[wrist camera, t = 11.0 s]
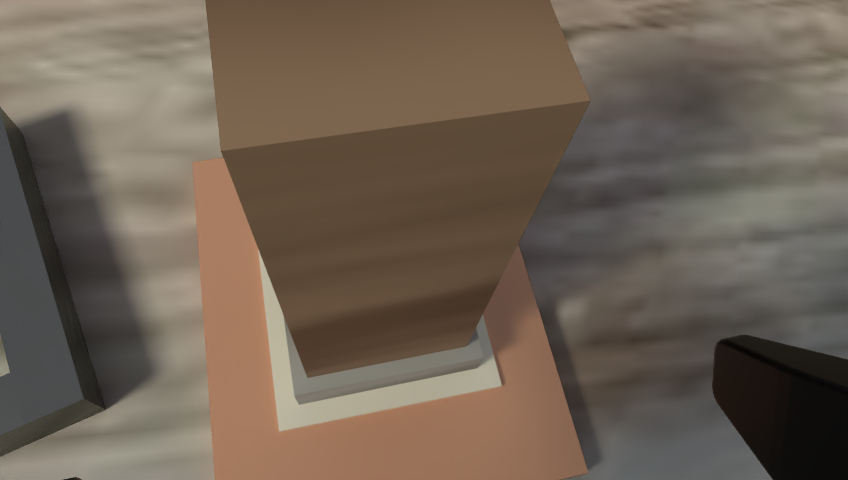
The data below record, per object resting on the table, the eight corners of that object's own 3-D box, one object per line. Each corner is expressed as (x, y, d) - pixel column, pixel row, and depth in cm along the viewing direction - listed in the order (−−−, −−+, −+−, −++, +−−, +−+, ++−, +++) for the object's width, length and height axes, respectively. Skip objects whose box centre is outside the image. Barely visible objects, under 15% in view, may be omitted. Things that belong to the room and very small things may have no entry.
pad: (582, 474, 18) (590, 472, 17) (225, 558, 16) (219, 558, 16) (479, 133, 23) (482, 121, 22) (196, 171, 21) (191, 159, 21)
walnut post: (477, 368, 18) (632, 123, 8) (298, 404, 17) (186, 186, 7) (437, 214, 20) (513, -151, 10) (276, 239, 20) (162, -129, 9)
